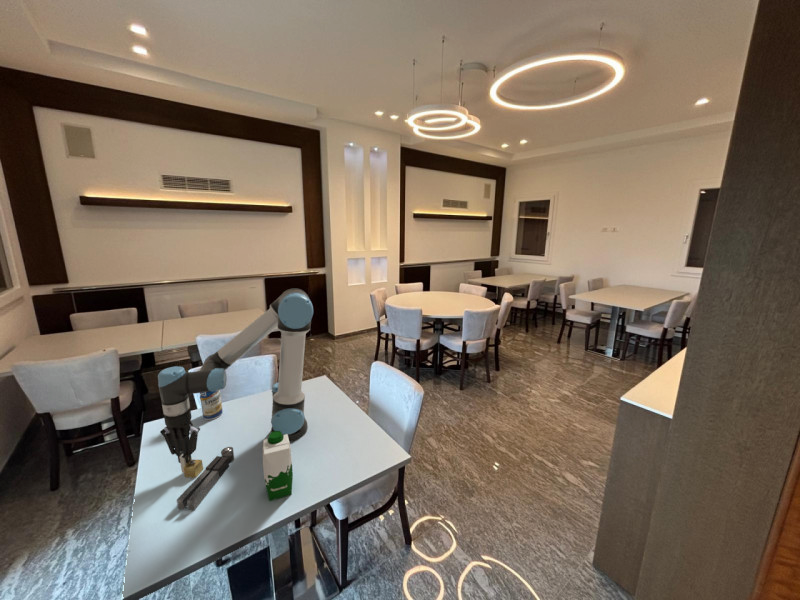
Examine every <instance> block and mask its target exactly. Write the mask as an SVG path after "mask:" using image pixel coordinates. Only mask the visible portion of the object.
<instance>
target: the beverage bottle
mask: <svg viewBox="0 0 800 600" xmlns="http://www.w3.org/2000/svg"><path fill="white" fill-rule="evenodd" d="M199 394H200V395H199V399H200V405H201V413H202V418H203V419H204V420H206V421H207V420H208V421H209V420H214V419H218V418H219V417H220V416H222V414H223V412H224V411H223V410H224V409H223V405H222V393H221V390H216V391H210V392H202V393H199Z"/></svg>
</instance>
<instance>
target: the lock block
mask: <svg viewBox="0 0 800 600" xmlns="http://www.w3.org/2000/svg"><path fill="white" fill-rule="evenodd" d="M183 468H184V473H183V474H184V478H194V479H195V478H196V479H197V478H198V477H199V476H200V474H201V473H202V472H203V471H204V466H203V460H202V459H193V458H192V460H191V461H190V462H189V463H187V464H186V465H185V466H184V467H183Z"/></svg>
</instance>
